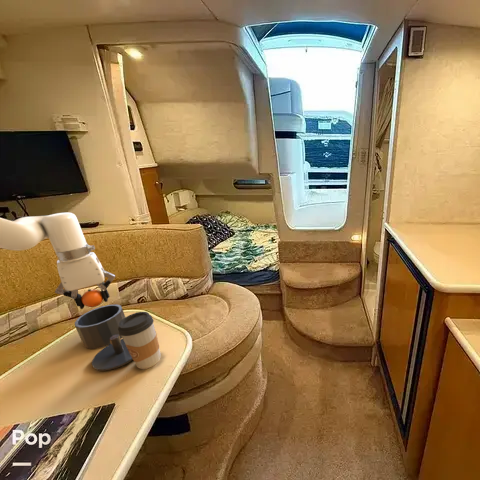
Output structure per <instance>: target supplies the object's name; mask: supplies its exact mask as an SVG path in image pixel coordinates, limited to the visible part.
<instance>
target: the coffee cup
mask: <svg viewBox="0 0 480 480" xmlns="http://www.w3.org/2000/svg"><path fill="white" fill-rule="evenodd" d="M118 330H119V334H120V335H121V336H122V338H121V339H123V340H124V342H125V345H126V347H127V349H128V351H129V353H130V355H131V357H132V359H133V360H132V361H133V362H134V364H135V366H136V367H137V368H138V369H140V370H147V369H150V368H152V367H154V366H156V365H157V364H158V363H159V361H160V360H161V357H162V353H161V348H160V344H159V339H158V334H157V331H156V328H155V324H154V318H153V316H152V315H151V314H150V313H149V312H147V311H138V312H135V313H131V314H129V315H127V316H125V318H124V319H122V320H121V321H120V323H119V327H118Z"/></svg>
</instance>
